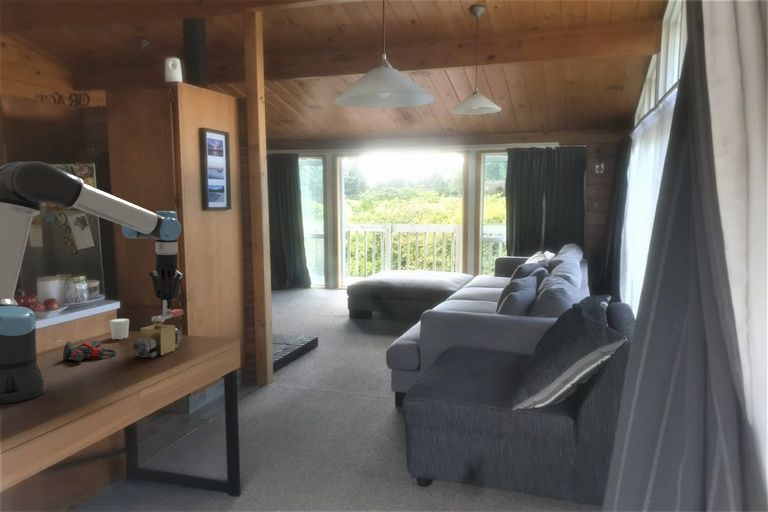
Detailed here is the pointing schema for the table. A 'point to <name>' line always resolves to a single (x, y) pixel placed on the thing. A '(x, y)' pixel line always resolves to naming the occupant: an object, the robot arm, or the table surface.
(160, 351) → the pipe valve
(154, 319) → the lever
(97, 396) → the table surface
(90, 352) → the valve
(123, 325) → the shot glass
